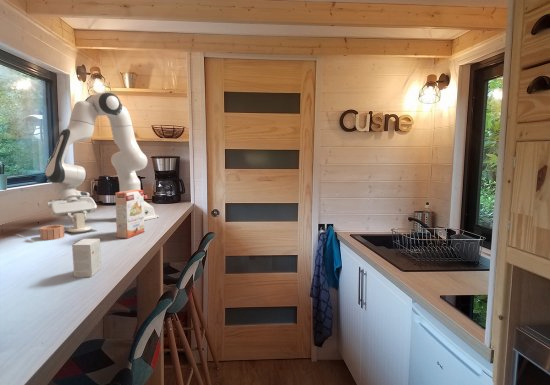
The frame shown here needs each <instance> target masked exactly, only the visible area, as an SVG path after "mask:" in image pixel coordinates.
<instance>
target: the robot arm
mask: <svg viewBox="0 0 550 385" xmlns="http://www.w3.org/2000/svg"><path fill="white" fill-rule="evenodd" d="M130 115H131V114H130V112H129V110H128V109H127V107H126V106H124V105H123V104H122V103H121V100H120V99H119V97H118V95H117V94H115V93H112V92H100V93H96V94H92V95H89V96H88V97H87V98H85V100H80V101H77V102H75V104H74V105H73V108H72V111H71V113H70V119H69V123H68V125H67V126H66V128H65V129H63V130H61V131H60V134H59V135H58V138H57V140H56V143H55V146H54V148H53V151H52V154H51V155H50V156H51V157H50V159H49V162H48V163H47V165H46V166H45V169H44V175H45V177H46V179H47V180H48V181H49V182H50V183H51V185H52V188H53V190H54V192H55V193H56V196H57V199H50V200H49V201H47V203H46V205H47V206H48V208H49V211H50V215H51V217H53V218H61V217H62V218H63V217H66V218H67V219H69V220H70V221H71V222H72V223H74V222H76V218H75V217H73V214H76V213H83V214H84V219H85V221H87V219H88V217H87V214H89V213H90V214H91V213H95V212H96V211H97V208H98V205H97V203H96V202H95V200H94V198H93V197H92V196H91V194H90V193H89V192H87V191H80V190H77V188H79V187H80V186H81V185H83V184H84V183H85V181H86V180H87V178H88V174H87V170H86V169H85V167H84V166H83V165H82V166H81V165H78V164H77V165H76V164H71V163H66V162H65V158H66V155H67V152H68V150H69V147H70V146H71V145H72V144H74V143H78V142H85V141H87V140H89V139H90V138H91V137H93V134H94V132H95V126H96V120H97V117H98V116H106V117H107V118H108V120H109V124H110V129H111V135H112V139H113V142H114V144H115V145H117V147H118V149H119V151H117V152H115V153H113V154H112V156H111V158H110V162H111V165H112V167H114V169H115V172H116V174H117V178H118V184H119V186H118V187H119V192H123V191H129V190H142V189H141V188H142V187H141V180H140V178H139V177H138V176H137V173H136V172H139V171H141V170H144V169H145V168H146V167H147V165H148V157H147V156H146V154H144V152H143V151H142V150H141V147H139V146H140V145H139V144H138V141H137V139H136V136H135V132H134V126H133V123H132V118H131V116H130ZM143 195H144V199H148V195H147V194H143ZM157 217H158V218H159V217H160V215H159V214H157V213H155V208H154V206H153V205H151V204H149V203H148V202H147V201H145V200H144V221H147V220H153V219H156V218H157ZM158 218H157V219H158Z"/></svg>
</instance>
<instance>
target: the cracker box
mask: <svg viewBox="0 0 550 385" xmlns="http://www.w3.org/2000/svg"><path fill="white" fill-rule="evenodd" d="M144 195H145V194H144V189H141V190H129V191H123V192H120V191H118V192H115V215H116V216H115V218H116V219H115V220H116V221H115V222H116V238H118V239H119V238H120V239H129V238H132V237H134V236H136V235H139V234H143V233H144V232H145V220H144V201H145V200H144V199H145V198H144Z"/></svg>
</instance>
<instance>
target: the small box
mask: <svg viewBox="0 0 550 385" xmlns="http://www.w3.org/2000/svg"><path fill="white" fill-rule="evenodd" d="M71 248H72V264H73V277H74V278H88V277H91V278H92V277H93V276H94V275H96V274H97V273H98V272H99V271H100V270H102V256H101V255H102V254H101V251H102V250H101V239H100V238H82V239H81V240H79V241H77V242H76V243H74V244H72V245H71Z"/></svg>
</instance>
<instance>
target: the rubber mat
mask: <svg viewBox="0 0 550 385" xmlns="http://www.w3.org/2000/svg"><path fill="white" fill-rule="evenodd" d="M95 232H98V230H96V229H92V228H91V230H89V231H85V232H77V233H72V232H68V230H64V234H66V235H69V236H76V235H77V236H78V235H83V234H88V233H95Z"/></svg>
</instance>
